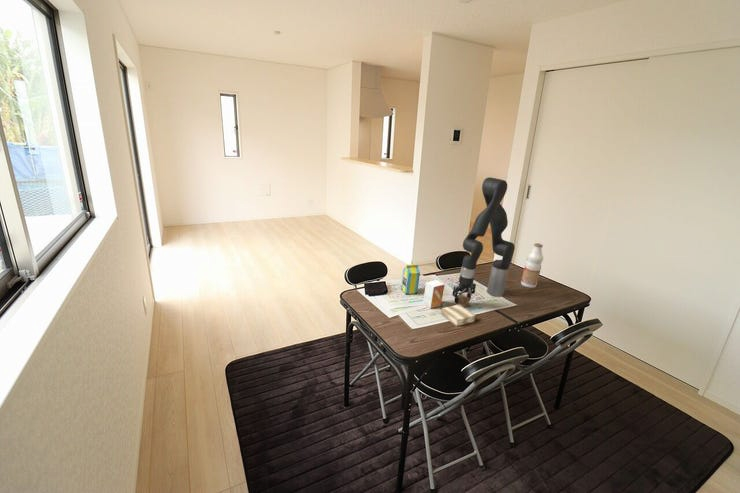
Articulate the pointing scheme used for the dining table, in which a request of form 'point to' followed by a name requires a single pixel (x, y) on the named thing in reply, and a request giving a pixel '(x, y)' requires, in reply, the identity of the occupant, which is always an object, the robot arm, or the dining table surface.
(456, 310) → the beige square plate
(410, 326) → the dining table surface
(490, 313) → the dining table surface
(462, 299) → the walnut cube
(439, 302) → the small box
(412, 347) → the dining table surface
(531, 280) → the fruit juice
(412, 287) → the carton
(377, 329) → the dining table surface
